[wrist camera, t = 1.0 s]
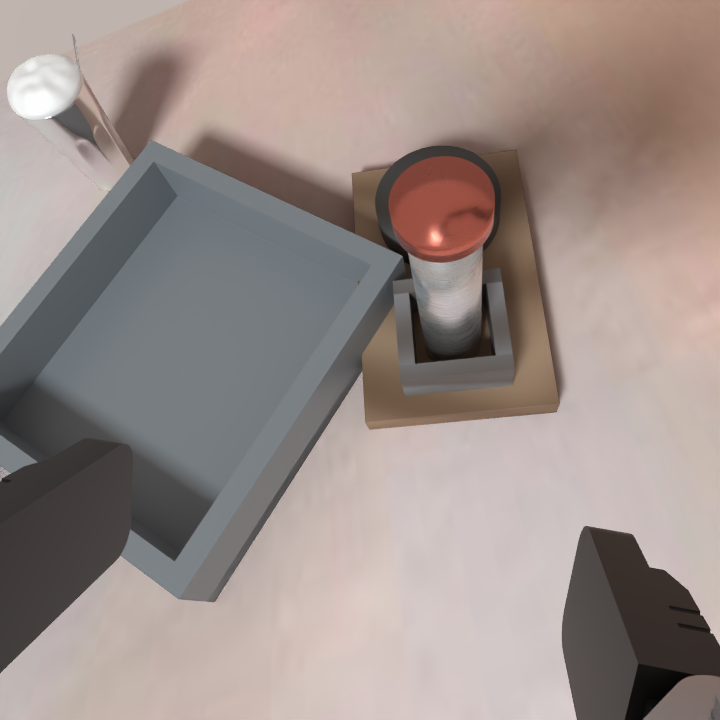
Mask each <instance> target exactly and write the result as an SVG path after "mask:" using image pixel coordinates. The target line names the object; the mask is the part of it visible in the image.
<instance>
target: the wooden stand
mask: <svg viewBox="0 0 720 720" xmlns="http://www.w3.org/2000/svg"><path fill="white" fill-rule="evenodd" d="M438 156H452V157H458V158H462V159H465V160H468V161H470V162H472V163H474V164H475V165H477V166H478V167H480V168H481V169H482V170H483V171H484V172H485V173H486V174H487V176H488V177H489V179H490V180H491V182H492V185H493V188H494V193H495V207H494V223H493V228H492V230H491V233H490V235H489V237H488V238H487V240H486V241H485V243H484V244H483V252H482V309H481V346H480V350H479V353H478V355H477V356H476V357H475V358H466V359H457V360H447V361H438V362H434V361H433V360H432V359H431V358H430V357H429V355H428V354H427V351H426V348H425V343H424V337H423V332H422V326H421V321H420V315H419V310H418V304H417V299H416V293H415V288H414V283H413V277H412V272H411V266H410V261H409V255H408V252H407V251H406V250H404V249H403V248H402V246H401V245H400V244H399V243H398V241H397V239H396V237H395V234H394V231H393V227H392V222H391V217H390V212H389V205H388V202H389V195H390V191H391V189H392V187H393V185H394V183H395V181H396V180H397V179H398V177H399V176H400V175H401V174H402V173H403V172H404V171H405V170H406V169H408V168H409V167H410V166H412V165H414V164H415V163H417V162H420V161H422V160H425V159H428V158H432V157H438ZM352 186H353V204H354V222H355V234H356V235H358V236H360V237H362V238H365V239H367V240H369V241H371V242H373V243H376V244H378V245H380V246H382V247H384V248H386V249H389V250H391V251H393V252H395V253H397V254H399V255H402V256H403V260H404V265H405V270H406V275H407V279H405V280H397V281H393V293H394V305H393V307H392V309H391V310H390V312H389V313H388V315H387V316H386V318H385V319H384V321H383V323H382V324H381V326H380V327H379V329H378V330H377V332H376V333H375V335H374V337H373V338H372V340H371V341H370V343H369V344H368V346H367V347H366V349H365V351H364V352H363V354H362V369H363V388H364V406H365V422H366V424H367V426H368V428H369V429H381V428H391V427H402V426H413V425H424V424H435V423H445V422H456V421H467V420H478V419H488V418H499V417H510V416H521V415H532V414H542V413H553V412H556V411H557V409H558V406H559V398H558V392H557V386H556V380H555V374H554V369H553V363H552V357H551V351H550V345H549V339H548V333H547V327H546V321H545V316H544V310H543V304H542V298H541V292H540V286H539V280H538V274H537V269H536V263H535V257H534V251H533V245H532V239H531V233H530V227H529V221H528V216H527V210H526V204H525V198H524V192H523V186H522V180H521V174H520V168H519V163H518V157H517V151H516V150H510V151H503V152H496V153H489V154H482V155H476V154H474V153H472V152H470V151H468V150H465V149H462V148H458V147H452V146H433V147H427V148H423V149H419V150H416V151H414V152H412V153H409V154H407V155H406V156H404V157H402V158H401V159H399V160H398V161H397V162H395V163H394V164H393V165H392V166H391V167H390V168H385V169H378V170H371V171H364V172H357V173H352ZM359 283H360V281H358V285H359Z"/></svg>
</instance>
